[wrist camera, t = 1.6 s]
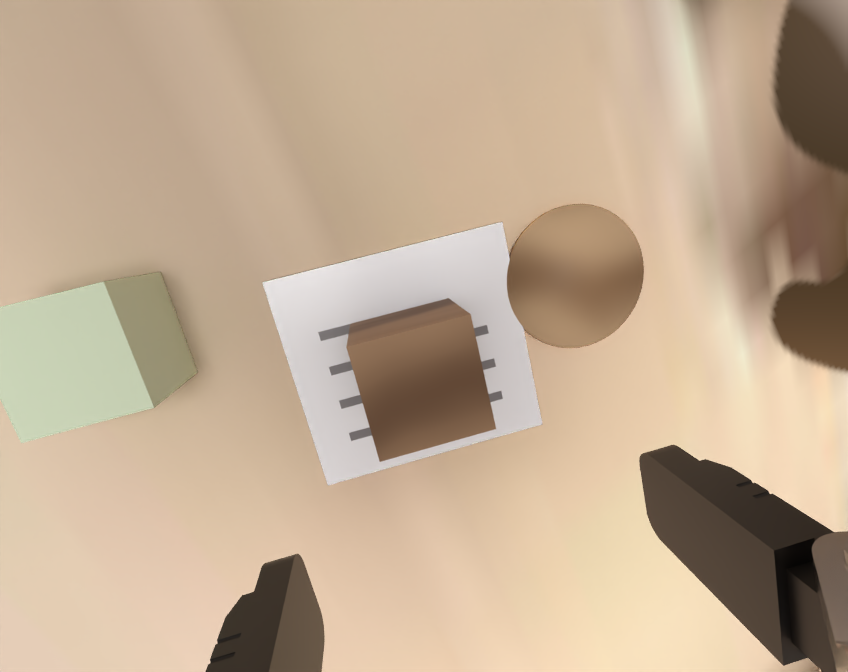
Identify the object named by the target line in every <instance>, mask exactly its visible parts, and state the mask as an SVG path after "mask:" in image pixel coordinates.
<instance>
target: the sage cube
mask: <svg viewBox="0 0 848 672" xmlns="http://www.w3.org/2000/svg"><path fill="white" fill-rule="evenodd" d="M196 373H198V371H197V369H196V366H195V363H194V361H193V358H192V355H191V352H190V350H189V347H188V344H187V342H186V339H185V336H184V334H183V331H182V328H181V326H180V323H179V320H178V317H177V315H176V312H175V309H174V307H173V304H172V301H171V299H170V296H169V293H168V291H167V288H166V285H165V282H164V280H163V277H162V274H161V272H157V273H151V274H145V275H139V276H133V277H127V278H122V279H116V280H110V281H104V282H100V283H96V284H92V285H88V286H84V287H79V288H75V289H71V290H67V291H63V292H59V293H55V294H51V295H47V296H43V297H39V298H35V299H31V300H27V301H23V302H19V303H14V304H10V305H6V306H2V307H0V400H1V402H2V404H3V406H4V408H5V410H6V412H7V415H8V417H9V419H10V421H11V423H12V425H13V427H14V429H15V431H16V433H17V435H18V437H19V440H20V442H21V443H24V442H27V441H31V440H35V439H39V438H43V437H46V436H50V435H54V434H58V433H61V432H65V431H69V430H73V429H76V428H80V427H84V426H88V425H91V424H95V423H99V422H103V421H106V420H110V419H114V418H118V417H121V416H125V415H129V414H133V413H136V412H140V411H144V410H148V409H152V408H155V407H156V406H157V405H158V404H159V403H161V402H162V401H163V400H164V399H166V398H167V397H168V396H169V395H170V394H172V393H173V392H174V391H175V390H177V389H178V388H179V387H180V386H182V385H183V384H184V383H185V382H186V381H188V380H189V379H190V378H191V377H193V376H194V375H195V374H196Z"/></svg>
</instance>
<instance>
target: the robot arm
mask: <svg viewBox="0 0 848 672" xmlns="http://www.w3.org/2000/svg"><path fill="white" fill-rule="evenodd" d="M640 470H641V477H642V483H643V490H644V496H645V503H646V510H647V515H648V518H649V521H650V523H651V526H652V528H653V530H654V531H655V533H656V535H657V536H658V537H659V539H660V540H661V541H662V542H663V543H664V544H665V545H666V546H667V547H668V548H669V549H670V550H671V551H672V552H673V553H674V554H675V555H676V556H677V557H678V558H679V559H680V560H681V562H682V563H683V564H684V565H685V566H686V567H687V568H688V569H689V570H690V571H691V572H692V573H693V574H694V575H695V576H696V577H697V578H698V579H699V580H700V581H701V582H702V583H703V584H704V585H705V586H706V587H707V588H708V589H709V590H710V591H711V592H712V593H713V594H714V595H715V596H716V597H717V598H718V599H719V600H720V601H721V602H722V603H723V604H724V605H725V606H726V607H727V608H728V610H729V611H730V612H731V613H732V614H733V615H734V616H735V617H736V618H737V619H738V620H739V621H740V622H741V623H742V624H743V625H744V626H745V627H746V628H747V629H748V630H749V631H750V632H751V633H752V634H753V635H754V636H755V637H756V638H757V639H758V640H759V641H760V642H761V643H762V644H763V645H764V646H765V647H766V648H767V649H768V650H769V651H770V652H771V653H772V654H773V655H774V656H775V657H776V659H777V660H778V661H779V662H780V663H781V664H782V665H783V666H784V665H787V664H790V663H793V662H796V661H799V660H802V659H805V658H809V659H810V660H811V661H812V662H813V663H814V664H815V665H816V666H818V667H819V672H848V532H833V531H831V530H830V529H828V528H827V527H825V526H823V525H822V524H820V523H819V522H817V521H815V520H814V519H812V518H811V517H809V516H807V515H806V514H804V513H803V512H801V511H799V510H798V509H796V508H795V507H793V506H791V505H790V504H788V503H787V502H785V501H783V500H782V499H780V498H779V497H777V496H776V495H774V494H769V492H768V490H766V489H764V488H763V487H761V486H760V485H758V484H756V483H752V481H751V480H750V479H748V478H747V477H745V476H744V475H742V474H740V473H739V472H737V471H736V470H734V469H732V468H731V467H728V466H725V465H721V464H718V463H715V462H712V461H709V460H706V459H705V460H701V461H699V460H697V459H696V458H694V457H693V456H691V455H690V454H688V453H687V452H685V451H684V450H682V449H681V448H679V447H678V446H675V445H671V446H667V447H664V448H660V449H657V450H653V451H650V452H647V453H643V454H642V455H641V456H640ZM217 641H218V644H216V645H215V648H214V650H213V653H212V656H211V658H210V661H211V663H210V664H208V667H207V669H206V672H321V671H322V661H323V651H324V625H323V619H322V614H321V611H320V608H319V605H318V602H317V599H316V596H315V593H314V590H313V588H312V585H311V582H310V579H309V576H308V573H307V570H306V568H305V565H304V562H303V560H302V558H301V556H300V555H299V554H295V555H292V556H288V557H285V558H281V559H278V560H275V561H271V562H268V563H265V564H263V566H262V568H261V571H260V575H259V578H258V581H257V584H256V587H255V591H254V592H252V593H249V594H246V595H242V597H241V598H240V599H239V600H238V602H237V603H236V604H235V606H234V607H233V608H232V610H231V611H230V612H229V614H228V615H227V616H226V618H225V620H224V623H223V626H222V629H221V631H220V634H219V637H218V639H217Z"/></svg>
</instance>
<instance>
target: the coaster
mask: <svg viewBox="0 0 848 672" xmlns="http://www.w3.org/2000/svg"><path fill="white" fill-rule="evenodd" d="M509 258H510V261H509V265H508V271H507V290H508V291H507V292H508V293H509V294H508V298H509V302H510V305H511V308H512V310H513V312H514V314H515V316H516V318H517V319H518V321H519V322H520V324H521V325H522V326H523V328H524V329H525V330H526V331H527V332H528V333H529V334H531V335H532V336H534V337H535V338H536V339H538V340H540V341H542V342H544V343H547V344H549V345H552V346H557V347H562V348H577V347H583V346H588V345H591V344H594V343H596V342H598V341H600V340H602V339H604V338H606V337H607V336H609V335H610V334H612V333H613V332H614V331H616V330H617V329H618V328H619V327H620V326H621V325H622V324H623V323H624V322H625V320H626V319H627V318H628V316H629V315H630V314H631V312H632V310H633V309H634V307H635V305H636V303H637V300H638V298H639V295H640V292H641V288H642V283H643V273H644V267H643V258H642V253H641V249H640V246H639V243H638V241H637V239H636V237H635V235H634V234H633V232H632V231H631V229H630V228H629V227H628V226H627V224H626V223H625V222H624V221H623V220H621V219H620V218H619V217H618V216H617V215H615V214H613V213H612V212H610V211H608V210H606V209H603V208H601V207H597V206H593V205H586V204H573V205H567V206H562V207H559V208H556V209H553V210H551V211H549V212H547V213H545V214H543V215H541V216H540V217H538V218H537V219H536V220H534V221H533V222H532V223H531V224H530V225H529V226H528V227H527V228H526V229H525V230H524V231H523V232H522V234H521V235H520V236H519V238H518V239H517V241H516V243H515V245H514V246H513V248H512V251H511V253H510V256H509ZM508 279H509V280H508ZM511 285H512V286H511ZM508 286H509V287H508ZM511 300H512V301H511Z"/></svg>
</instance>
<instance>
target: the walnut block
mask: <svg viewBox="0 0 848 672" xmlns="http://www.w3.org/2000/svg"><path fill="white" fill-rule="evenodd" d="M346 348H347V351H348V355H349V358H350V361H351V365H352V368H353V372H354V375H355V379H356V382H357V385H358V389H359V392H360V396H361V399H362V403H363V406H364V409H365V413H366V416H367V420H368V423H369V427H370V430H371V433H372V437H373V440H374V444H375V447H376V451H377V454H378V458H379V461H380V462H381V461H385V460H388V459H392V458H396V457H399V456H403V455H406V454H410V453H413V452H417V451H420V450H424V449H427V448H431V447H434V446H438V445H441V444H445V443H448V442H452V441H455V440H459V439H463V438H466V437H470V436H473V435H477V434H480V433H484V432H487V431H491V430H494V429H496V425H495V421H494V416H493V412H492V407H491V403H490V398H489V394H488V389H487V385H486V380H485V376H484V372H483V367H482V363H481V358H480V354H479V349H478V345H477V340H476V336H475V331H474V327H473V322H472V318H471V314H470V313H468V312H467V311H466V310H464V309H463V308H462V307H460V306H459V305H457V304H456V303H455V302H453V301H452V300H451V299H449V298H447V299H443V300H439V301H436V302H432V303H428V304H424V305H420V306H417V307H413V308H409V309H405V310H401V311H397V312H394V313H390V314H386V315H382V316H378V317H375V318H371V319H367V320H363V321H359V322H356V323H352V324H350V328H349V334H348V340H347V346H346Z"/></svg>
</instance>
